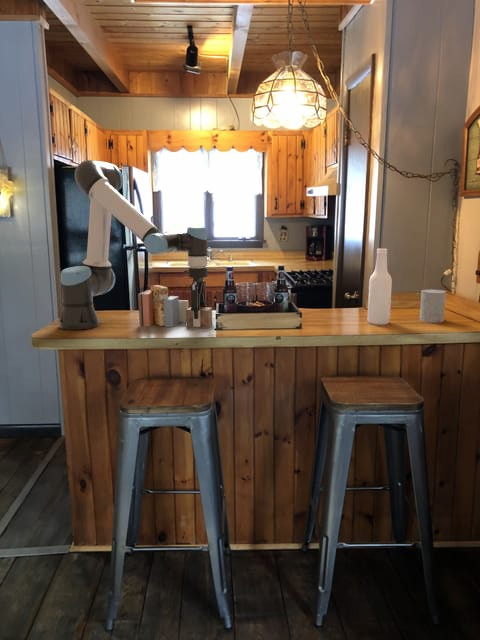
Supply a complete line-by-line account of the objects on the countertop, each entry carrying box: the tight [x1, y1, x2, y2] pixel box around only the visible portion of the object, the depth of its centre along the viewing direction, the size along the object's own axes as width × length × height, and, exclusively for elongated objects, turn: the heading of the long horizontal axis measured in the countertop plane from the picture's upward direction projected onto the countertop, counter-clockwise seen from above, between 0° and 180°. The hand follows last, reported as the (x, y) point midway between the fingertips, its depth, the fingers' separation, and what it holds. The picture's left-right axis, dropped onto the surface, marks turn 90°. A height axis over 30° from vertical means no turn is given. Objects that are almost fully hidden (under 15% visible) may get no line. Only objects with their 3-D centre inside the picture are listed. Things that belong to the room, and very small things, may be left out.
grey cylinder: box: [418, 288, 447, 324], centre depth 213 cm, size 10×10×12 cm
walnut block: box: [185, 306, 213, 329], centre depth 205 cm, size 9×6×7 cm, turn 79°
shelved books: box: [142, 291, 180, 328], centre depth 208 cm, size 12×9×13 cm
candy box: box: [149, 284, 169, 327], centre depth 207 cm, size 9×4×15 cm, turn 33°
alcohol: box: [366, 247, 393, 326], centre depth 206 cm, size 9×9×30 cm
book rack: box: [137, 289, 189, 327], centre depth 208 cm, size 17×12×13 cm
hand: (199, 324), depth 205 cm, fingers closed on walnut block, 6 cm apart
